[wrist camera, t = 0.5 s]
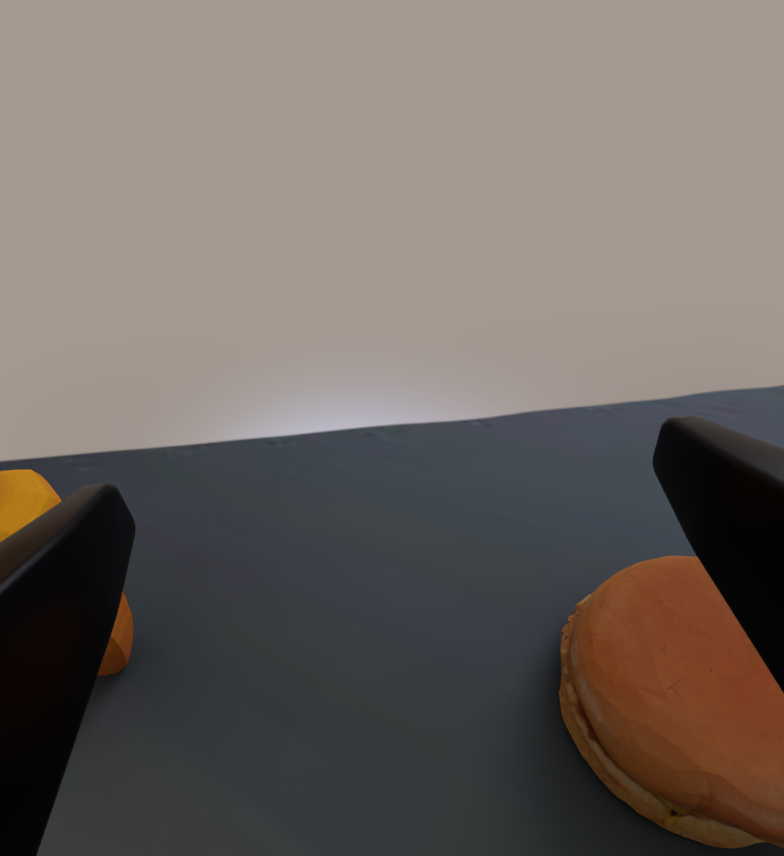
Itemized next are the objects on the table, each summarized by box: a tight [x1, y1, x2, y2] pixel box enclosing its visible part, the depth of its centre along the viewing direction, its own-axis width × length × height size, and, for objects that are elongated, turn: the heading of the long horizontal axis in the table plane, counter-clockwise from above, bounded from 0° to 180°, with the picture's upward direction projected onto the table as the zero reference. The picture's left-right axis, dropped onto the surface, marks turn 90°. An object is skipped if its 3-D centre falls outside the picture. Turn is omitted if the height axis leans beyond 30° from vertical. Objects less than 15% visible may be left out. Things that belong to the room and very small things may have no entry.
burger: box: [559, 556, 784, 849], centre depth 18 cm, size 10×9×5 cm
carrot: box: [0, 470, 133, 676], centre depth 17 cm, size 5×5×15 cm
